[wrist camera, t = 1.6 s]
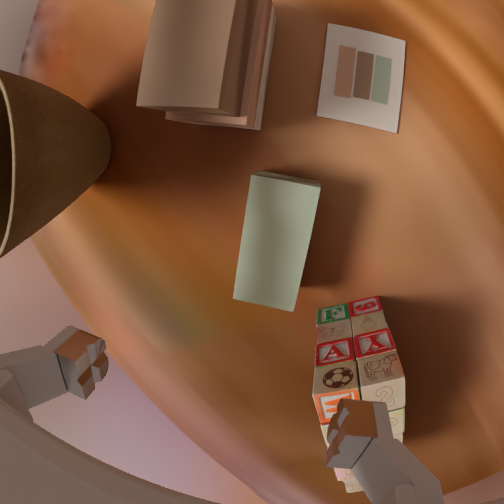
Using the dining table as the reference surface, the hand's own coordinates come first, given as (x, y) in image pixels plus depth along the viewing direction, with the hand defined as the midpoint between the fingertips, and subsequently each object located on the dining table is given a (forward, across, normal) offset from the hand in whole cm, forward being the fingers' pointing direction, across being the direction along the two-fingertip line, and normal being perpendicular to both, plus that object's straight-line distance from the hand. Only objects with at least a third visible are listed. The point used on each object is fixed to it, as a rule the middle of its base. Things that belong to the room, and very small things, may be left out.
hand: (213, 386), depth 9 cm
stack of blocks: (+20, -12, +15) cm, 28 cm away
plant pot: (+20, +21, -5) cm, 30 cm away
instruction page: (+20, -5, -15) cm, 25 cm away
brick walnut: (+14, +6, -14) cm, 20 cm away
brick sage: (+20, 0, 0) cm, 20 cm away
